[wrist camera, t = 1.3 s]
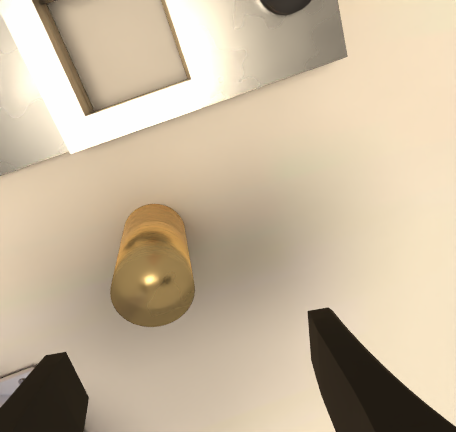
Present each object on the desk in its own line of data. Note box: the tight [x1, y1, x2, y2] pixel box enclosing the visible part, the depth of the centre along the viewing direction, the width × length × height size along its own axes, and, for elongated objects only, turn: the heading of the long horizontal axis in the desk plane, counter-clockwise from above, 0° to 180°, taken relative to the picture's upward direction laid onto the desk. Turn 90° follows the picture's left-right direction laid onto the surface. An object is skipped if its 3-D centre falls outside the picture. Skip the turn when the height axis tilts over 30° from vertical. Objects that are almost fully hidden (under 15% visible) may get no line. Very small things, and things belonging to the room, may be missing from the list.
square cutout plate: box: [0, 0, 347, 176], centre depth 15 cm, size 18×7×3 cm, turn 108°
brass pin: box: [110, 204, 195, 327], centre depth 17 cm, size 3×3×6 cm
